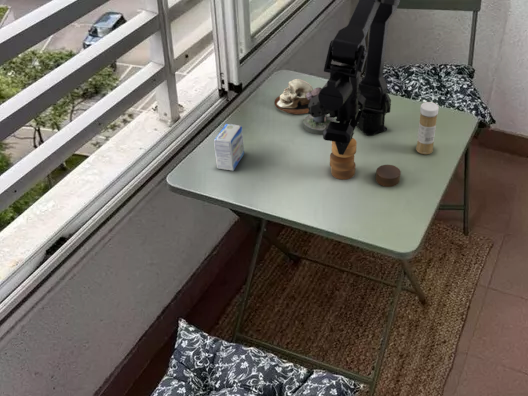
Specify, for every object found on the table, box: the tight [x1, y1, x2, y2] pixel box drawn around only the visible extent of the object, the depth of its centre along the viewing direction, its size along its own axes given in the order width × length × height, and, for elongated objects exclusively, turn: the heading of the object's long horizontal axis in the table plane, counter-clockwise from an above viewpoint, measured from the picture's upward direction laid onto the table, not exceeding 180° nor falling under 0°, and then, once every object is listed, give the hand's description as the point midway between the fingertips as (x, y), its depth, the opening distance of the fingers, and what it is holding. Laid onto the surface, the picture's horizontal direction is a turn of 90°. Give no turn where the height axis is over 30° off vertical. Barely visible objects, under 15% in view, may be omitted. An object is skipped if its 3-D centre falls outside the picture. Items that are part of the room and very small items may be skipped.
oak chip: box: [331, 137, 358, 158], centre depth 165 cm, size 6×6×2 cm
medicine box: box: [213, 123, 245, 172], centre depth 169 cm, size 8×4×9 cm, turn 168°
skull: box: [274, 78, 314, 115], centre depth 194 cm, size 12×10×10 cm
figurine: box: [302, 87, 335, 135], centre depth 183 cm, size 8×8×12 cm
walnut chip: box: [375, 164, 402, 188], centre depth 168 cm, size 6×6×2 cm
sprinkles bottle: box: [415, 101, 439, 155], centre depth 176 cm, size 5×5×13 cm
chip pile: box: [329, 152, 356, 181], centre depth 168 cm, size 6×6×5 cm
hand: (344, 147), depth 165 cm, fingers closed on oak chip, 6 cm apart
